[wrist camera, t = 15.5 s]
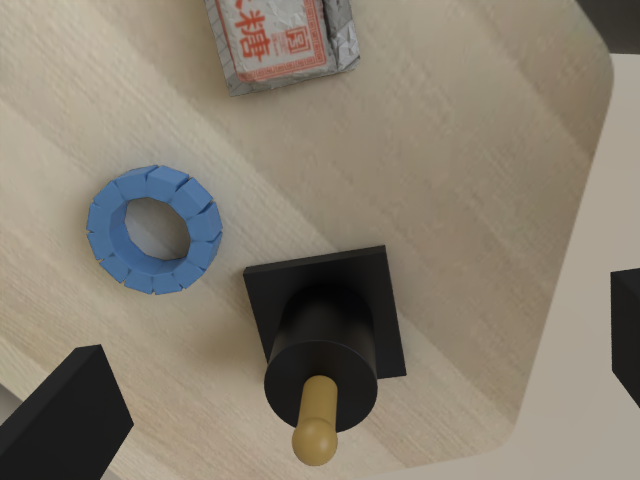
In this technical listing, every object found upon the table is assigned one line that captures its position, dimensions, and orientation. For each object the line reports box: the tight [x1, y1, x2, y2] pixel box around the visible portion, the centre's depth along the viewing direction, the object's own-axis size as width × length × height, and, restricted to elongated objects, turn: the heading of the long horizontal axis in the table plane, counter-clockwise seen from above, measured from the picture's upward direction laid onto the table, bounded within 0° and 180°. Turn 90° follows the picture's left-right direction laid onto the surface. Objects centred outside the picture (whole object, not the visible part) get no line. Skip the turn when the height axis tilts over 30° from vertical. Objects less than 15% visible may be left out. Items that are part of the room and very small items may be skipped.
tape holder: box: [243, 245, 407, 466], centre depth 37 cm, size 12×12×16 cm
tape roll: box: [86, 165, 222, 295], centre depth 41 cm, size 10×10×3 cm
